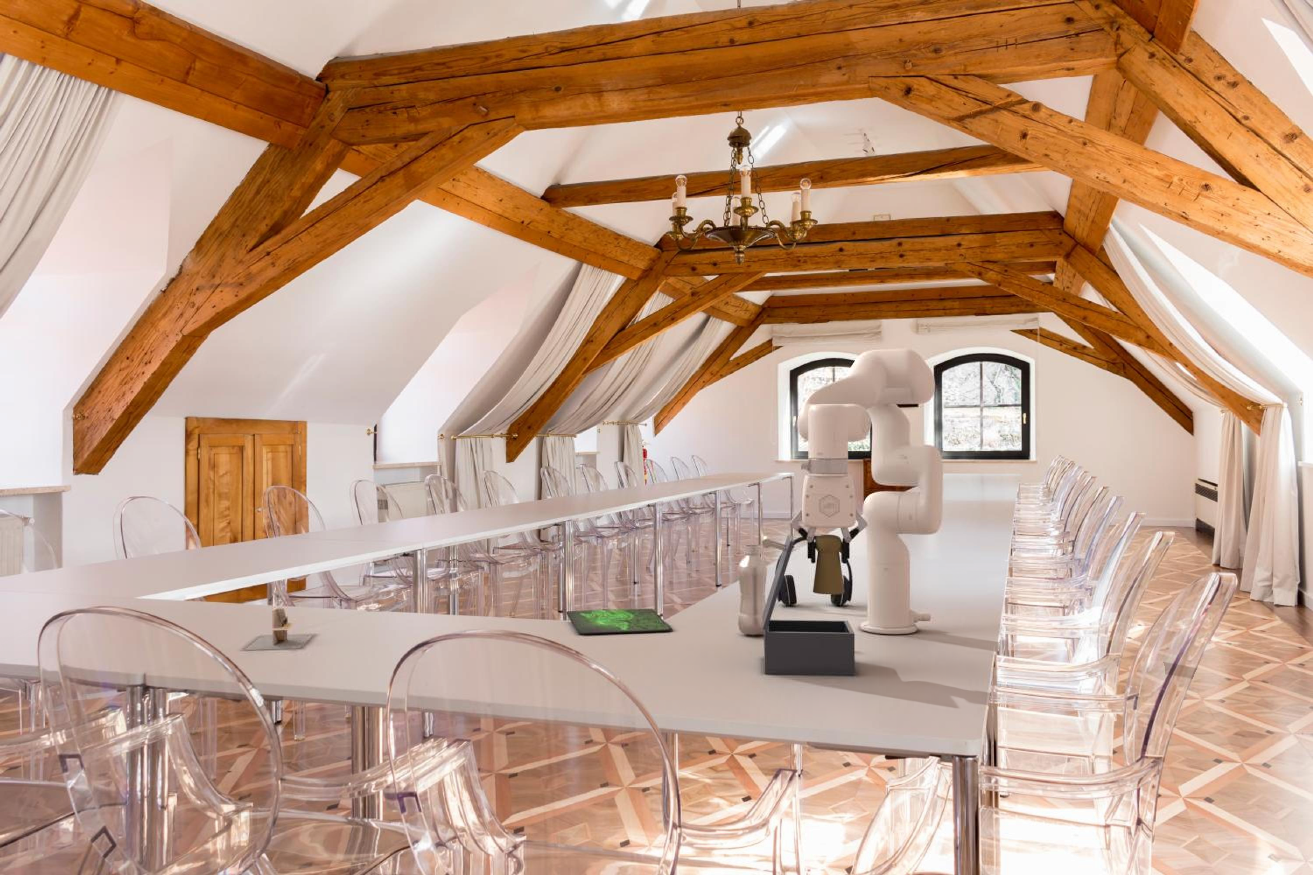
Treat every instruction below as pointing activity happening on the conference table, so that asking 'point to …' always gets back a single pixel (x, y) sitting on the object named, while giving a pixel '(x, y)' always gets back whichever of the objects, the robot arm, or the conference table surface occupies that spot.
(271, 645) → the architectural model
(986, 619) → the conference table surface
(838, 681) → the conference table surface
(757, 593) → the plastic bottle
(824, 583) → the cork
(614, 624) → the mouse mat
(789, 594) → the headphones
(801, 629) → the dark grey bin
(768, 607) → the box lid with handle
